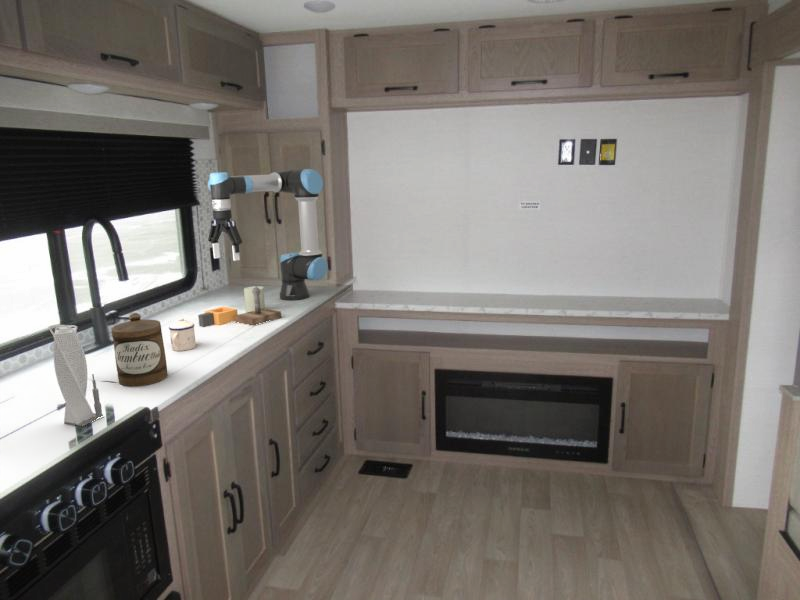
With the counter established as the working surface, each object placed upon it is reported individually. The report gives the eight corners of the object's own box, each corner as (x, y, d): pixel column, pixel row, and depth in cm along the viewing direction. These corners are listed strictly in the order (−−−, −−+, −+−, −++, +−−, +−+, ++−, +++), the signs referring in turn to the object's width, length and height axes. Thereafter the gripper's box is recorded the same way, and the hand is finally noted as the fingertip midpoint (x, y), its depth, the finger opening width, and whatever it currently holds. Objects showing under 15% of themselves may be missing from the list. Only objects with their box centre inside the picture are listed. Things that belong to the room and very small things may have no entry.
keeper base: (263, 314, 274) (261, 283, 270) (281, 317, 266) (278, 285, 263) (235, 322, 261) (232, 289, 258) (253, 326, 254) (250, 292, 251)
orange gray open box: (224, 317, 271) (223, 306, 270) (238, 320, 265) (237, 309, 264) (194, 324, 259) (193, 313, 258) (208, 328, 253) (207, 316, 252)
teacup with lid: (177, 344, 231) (174, 315, 228) (200, 344, 230) (197, 315, 227) (163, 354, 219) (160, 323, 216) (187, 353, 218) (184, 323, 216)
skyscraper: (78, 429, 157) (61, 327, 150) (56, 425, 160) (39, 324, 153) (104, 416, 164) (89, 318, 158) (83, 412, 167) (67, 316, 161)
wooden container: (115, 389, 185) (105, 321, 180) (122, 374, 199) (113, 310, 194) (165, 383, 189) (157, 316, 184) (169, 368, 203) (162, 306, 198)
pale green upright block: (268, 309, 282) (266, 285, 280) (262, 314, 274) (259, 289, 271) (249, 309, 283) (247, 285, 281) (242, 314, 275) (240, 289, 272)
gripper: (196, 209, 256) (201, 258, 260) (233, 210, 241) (237, 262, 245) (211, 208, 261) (216, 255, 266) (247, 209, 247) (252, 259, 251)
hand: (226, 259), depth 256 cm, fingers open, 13 cm apart
